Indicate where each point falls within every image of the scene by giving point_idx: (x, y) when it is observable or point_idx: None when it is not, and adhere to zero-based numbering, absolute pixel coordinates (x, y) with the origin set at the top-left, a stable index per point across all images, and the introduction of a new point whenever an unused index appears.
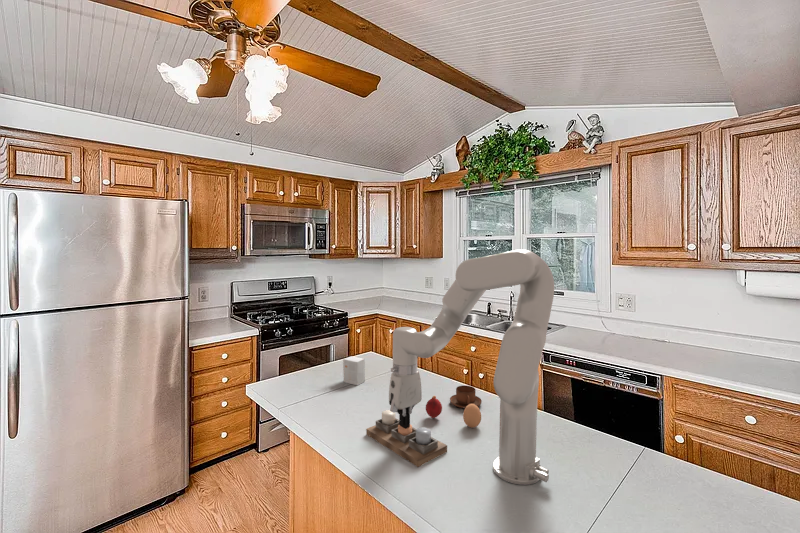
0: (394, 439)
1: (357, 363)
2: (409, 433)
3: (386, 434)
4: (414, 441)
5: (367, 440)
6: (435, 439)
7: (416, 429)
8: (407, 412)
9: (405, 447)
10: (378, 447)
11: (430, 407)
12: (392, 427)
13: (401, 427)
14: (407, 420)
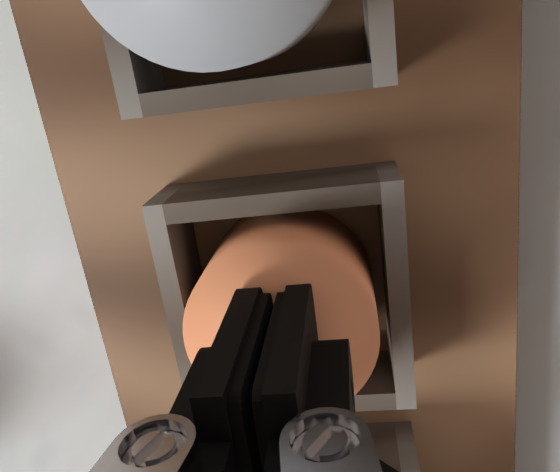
0: (424, 295)
1: None
2: (280, 224)
3: (426, 416)
4: (310, 68)
5: (551, 468)
6: (21, 26)
7: (270, 53)
8: (211, 470)
9: (438, 81)
10: (555, 329)
11: None
12: None
13: None
14: (267, 344)
